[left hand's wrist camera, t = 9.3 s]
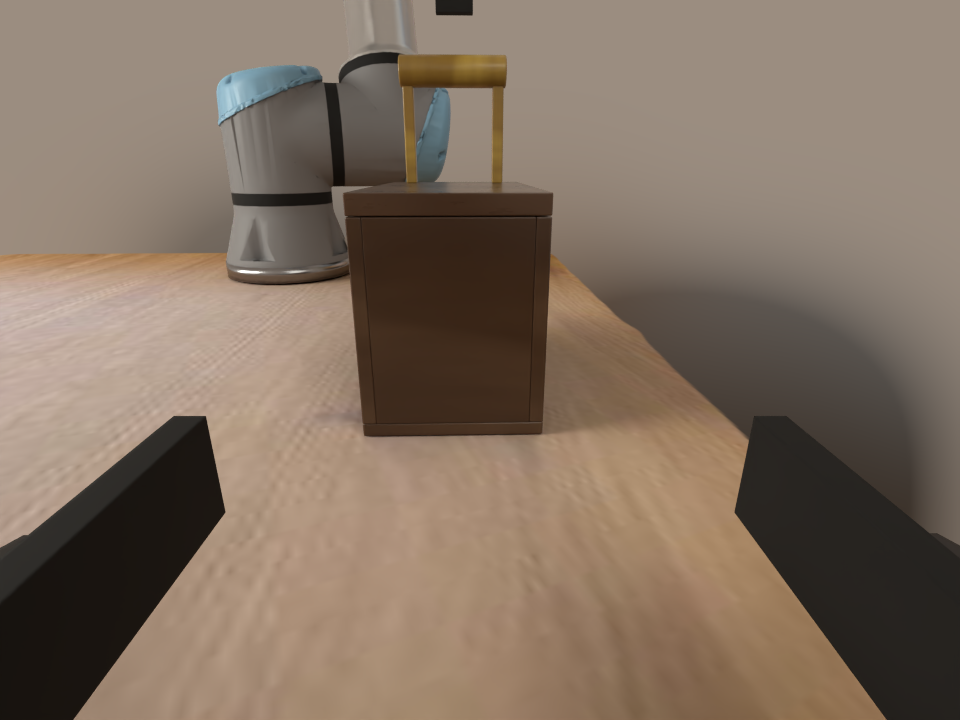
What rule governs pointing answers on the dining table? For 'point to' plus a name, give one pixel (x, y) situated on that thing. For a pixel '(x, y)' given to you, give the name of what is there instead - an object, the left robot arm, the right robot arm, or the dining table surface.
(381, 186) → the lid
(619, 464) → the dining table surface
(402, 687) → the dining table surface
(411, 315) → the chest
